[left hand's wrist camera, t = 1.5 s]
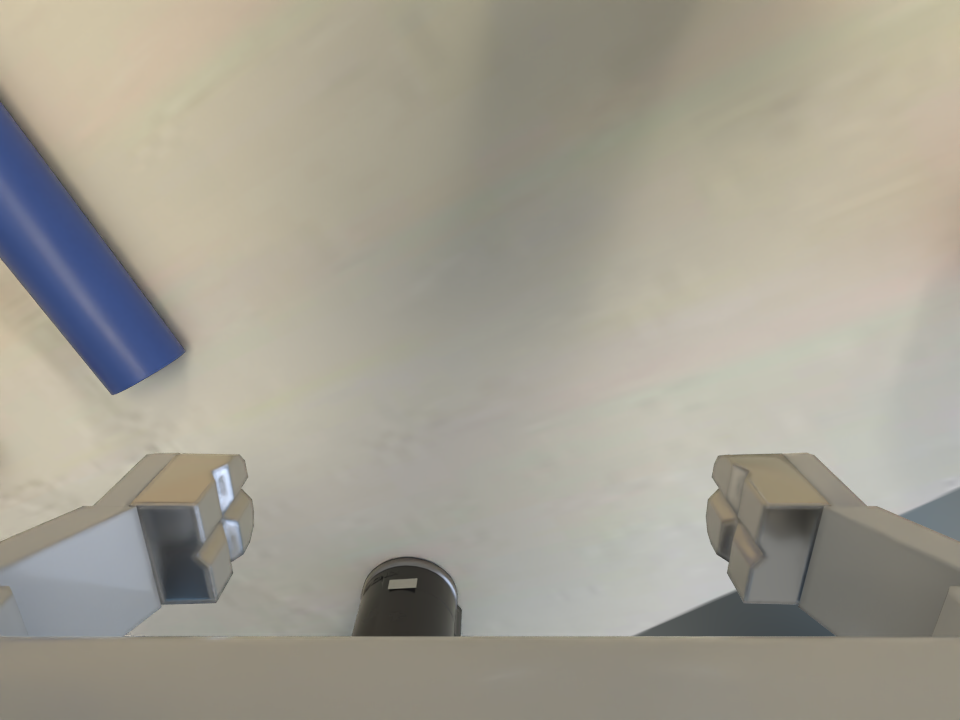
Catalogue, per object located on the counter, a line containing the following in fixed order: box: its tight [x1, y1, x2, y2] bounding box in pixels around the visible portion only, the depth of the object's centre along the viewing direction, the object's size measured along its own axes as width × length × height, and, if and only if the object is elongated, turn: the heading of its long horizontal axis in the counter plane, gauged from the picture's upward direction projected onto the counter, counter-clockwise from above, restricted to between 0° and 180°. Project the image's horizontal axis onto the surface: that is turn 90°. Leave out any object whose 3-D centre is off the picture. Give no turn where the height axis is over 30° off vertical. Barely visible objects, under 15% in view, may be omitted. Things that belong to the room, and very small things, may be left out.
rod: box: [0, 102, 185, 395], centre depth 42 cm, size 27×6×6 cm, turn 27°
